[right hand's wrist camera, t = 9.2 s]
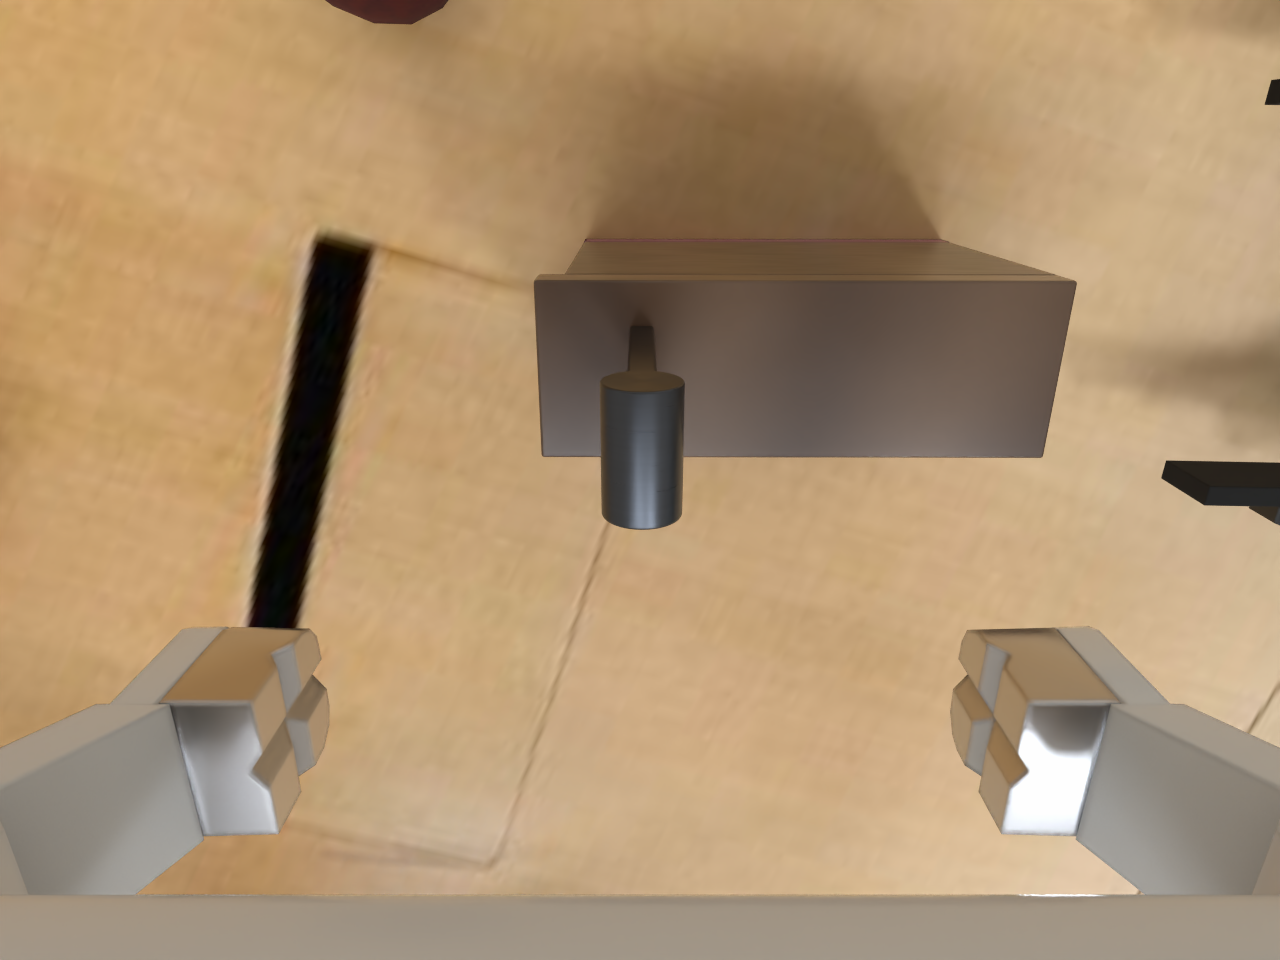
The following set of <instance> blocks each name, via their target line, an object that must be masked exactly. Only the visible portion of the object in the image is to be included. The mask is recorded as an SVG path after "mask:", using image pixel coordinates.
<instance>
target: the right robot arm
mask: <svg viewBox="0 0 1280 960" xmlns="http://www.w3.org/2000/svg"><path fill="white" fill-rule="evenodd" d="M320 661H321V654H320V649H319V645H318V640H317V636H316V635H315V634H314V633H313V632H312V631H311V630H310V629H298V628H247V627H232V628H228V627H191V628H187V629H182V630H181V631H180V632H179V633H178V634H177V635H176V636H175V637H174V638H173V639H172V640H171V641H170V642H169V643H168V645H167V646H166V647H165V648H164V649H163V650H162V651H161V652H160V653H159V654H158V655H157V656H156V657H155V658H154V659H153V660H152V661H151V662H150V663H149V664H148V665H147V666H146V667H145V668H144V669H143V670H142V671H141V672H140V673H139V674H138V675H137V676H136V677H135V678H134V679H133V681H132V682H131V683H130V684H129V685H128V686H127V687H126V688H125V689H124V690H123V691H122V692H121V693H120V694H119V695H118V696H117V697H116V698H115V699H114V700H113V701H112V702H111V703H110V704H95V705H93V706H91V707H89V708H87V709H84V710H82V711H80V712H78V713H76V714H73V715H71V716H69V717H67V718H65V719H62V720H60V721H58V722H56V723H54V724H51V725H49V726H47V727H45V728H43V729H41V730H38V731H36V732H34V733H32V734H30V735H27V736H25V737H23V738H21V739H19V740H16V741H14V742H12V743H10V744H8V745H5V746H3V747H1V748H0V960H1280V748H1279V747H1277V746H1274V745H1272V744H1270V743H1268V742H1266V741H1263V740H1261V739H1259V738H1257V737H1255V736H1252V735H1250V734H1248V733H1246V732H1244V731H1242V730H1239V729H1237V728H1235V727H1233V726H1231V725H1228V724H1226V723H1224V722H1222V721H1220V720H1217V719H1215V718H1213V717H1211V716H1209V715H1207V714H1204V713H1202V712H1200V711H1198V710H1196V709H1193V708H1191V707H1189V706H1187V705H1185V704H1170V703H1169V702H1168V701H1167V700H1166V699H1165V698H1164V697H1163V696H1162V695H1161V694H1160V693H1159V692H1158V691H1157V690H1156V689H1155V688H1154V687H1153V686H1152V685H1151V684H1150V682H1149V681H1148V680H1147V679H1146V678H1145V677H1144V676H1143V675H1142V674H1141V673H1140V672H1139V671H1138V670H1137V669H1136V668H1135V667H1134V666H1133V665H1132V664H1131V663H1130V662H1129V661H1128V660H1127V659H1126V658H1125V657H1124V656H1123V655H1122V654H1121V653H1120V652H1119V650H1118V649H1117V648H1116V647H1115V646H1114V645H1113V644H1112V643H1111V642H1110V641H1109V640H1108V639H1107V638H1106V637H1105V636H1104V635H1103V634H1102V633H1101V632H1100V631H1099V630H1097V629H1094V628H1091V627H1089V626H1084V627H1057V628H1028V629H989V630H967V632H966V634H965V636H964V638H963V640H962V643H961V648H960V653H959V661H960V662H961V664H962V665H963V667H964V669H965V670H966V672H967V674H968V675H967V676H966V677H965V678H964V679H963V680H962V681H961V682H960V683H959V684H958V685H957V686H956V687H955V688H954V689H953V695H952V703H951V711H950V714H951V725H952V735H953V738H954V742H955V745H956V748H957V751H958V753H959V755H960V757H961V759H962V761H963V763H964V765H965V766H967V767H968V768H970V769H971V770H973V771H974V772H976V773H977V774H979V775H980V776H981V782H980V787H979V793H980V795H981V797H982V799H983V801H984V802H985V804H986V806H987V808H988V810H989V812H990V814H991V815H992V817H993V819H994V821H995V823H996V825H997V827H998V828H999V830H1000V832H1001V834H1016V835H1053V836H1077V837H1076V840H1077V841H1078V842H1080V843H1081V844H1082V845H1083V846H1085V847H1086V848H1087V849H1088V850H1090V851H1091V852H1092V853H1093V854H1095V855H1096V856H1097V857H1098V858H1100V859H1101V860H1102V861H1104V862H1105V863H1106V864H1107V865H1109V866H1110V867H1111V868H1112V869H1114V870H1115V871H1116V872H1117V873H1119V874H1120V875H1121V876H1122V877H1124V878H1125V879H1126V880H1127V881H1129V882H1130V883H1131V884H1132V885H1134V886H1135V887H1136V888H1137V889H1139V890H1140V891H1141V892H1142V893H1144V894H1145V895H135V894H137V893H138V892H139V891H140V890H142V889H143V888H144V887H145V886H147V885H148V884H149V883H150V882H152V881H153V880H154V879H155V878H157V877H158V876H159V875H160V874H162V873H163V872H164V871H165V870H167V869H168V868H169V867H171V866H172V865H173V864H174V863H176V862H177V861H178V860H179V859H181V858H182V857H183V856H184V855H186V854H187V853H188V852H189V851H191V850H192V849H193V848H194V847H196V846H197V845H198V844H199V843H201V842H202V841H203V840H204V837H203V836H227V835H262V834H279V832H280V830H281V829H282V827H283V825H284V823H285V821H286V819H287V817H288V816H289V814H290V812H291V810H292V808H293V806H294V804H295V803H296V801H297V799H298V797H299V795H300V793H301V787H300V782H299V776H300V775H301V774H303V773H304V772H306V771H307V770H309V769H310V768H312V767H313V766H315V765H316V763H317V761H318V759H319V757H320V755H321V753H322V751H323V749H324V746H325V741H326V737H327V732H328V728H329V701H328V695H327V689H326V688H325V687H324V686H323V685H322V684H321V683H320V682H319V681H318V680H317V679H316V678H315V677H314V676H313V675H312V674H313V672H314V670H315V669H316V667H317V665H318V664H319V662H320Z"/></svg>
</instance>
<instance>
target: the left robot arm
mask: <svg viewBox="0 0 1280 960" xmlns="http://www.w3.org/2000/svg"><path fill="white" fill-rule="evenodd" d="M1265 105H1280V79H1277V80H1271V84H1270V87H1269V91H1268V94H1267V98H1266V102H1265ZM1162 479H1163V480H1165V481H1167V482H1168V483H1170V484H1171V485H1173V486H1175V487H1176V488H1178V489H1179V490H1181V491H1183V492H1184V493H1186V494H1187V495H1189V496H1190V497H1192V498H1194V499H1195V500H1197V501H1198V502H1200V503H1202V504H1203V505H1217V506H1249V508H1250V509H1252V510H1253V511H1255V512H1257V513H1258V514H1260V515H1262V516H1263V517H1265V518H1267V519H1269V520H1270V521H1272V522H1274V523H1276V524H1278V525H1280V463H1265V462H1212V461H1166V463H1165V467H1164V470H1163V474H1162Z"/></svg>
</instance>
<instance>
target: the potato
mask: <svg viewBox="0 0 1280 960" xmlns="http://www.w3.org/2000/svg"><path fill="white" fill-rule="evenodd" d="M326 1H327V2H328V3H330V4H331V5H332V6H334V7H337V8H339V9H342V10H344V11H346V12H349V13H351V14H354V15H356V16H358V17H361V18H363V19H365V20H368V21H370V22H373V23H385V24H413V23H415V22H417V21H419V20H421V19H422V18H424V17H426V16H428V15H430V14H432V13H434V12H436V11H438V10H439V9H441V8H443V7H444V5H445V4H446V3H447V1H448V0H326Z"/></svg>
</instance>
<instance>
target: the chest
mask: <svg viewBox="0 0 1280 960" xmlns="http://www.w3.org/2000/svg"><path fill="white" fill-rule="evenodd" d="M566 274H605V275H1055V274H1051V273H1048V272H1045V271H1041V270H1038V269H1035V268H1031V267H1028V266H1025V265H1022V264H1018V263H1015V262H1012V261H1008V260H1005V259H1002V258H998V257H995V256H992V255H988V254H985V253H982V252H978V251H975V250H972V249H968V248H965V247H962V246H959V245H955V244H952V243H949V242H947V241H944V240H865V239H585V241H584V244H583V246H582V247H581V249H580V251H579V252H578V254H577V256H576V257H575V259H574V260H573V262H572V264H571V265H570V267H569V269H568V270H567V272H566Z"/></svg>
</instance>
